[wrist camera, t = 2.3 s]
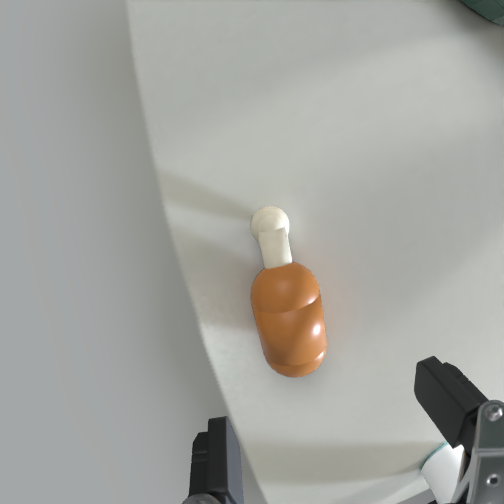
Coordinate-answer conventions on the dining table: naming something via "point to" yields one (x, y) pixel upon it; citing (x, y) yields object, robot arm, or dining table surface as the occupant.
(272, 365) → the drumstick
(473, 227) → the dining table surface
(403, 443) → the dining table surface
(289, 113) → the dining table surface
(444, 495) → the can
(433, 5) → the dining table surface
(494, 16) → the green faceted bowl
